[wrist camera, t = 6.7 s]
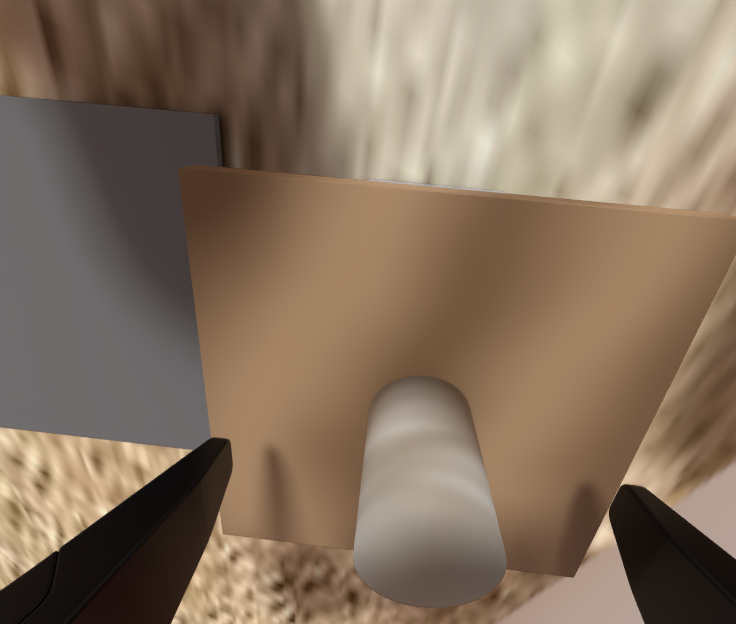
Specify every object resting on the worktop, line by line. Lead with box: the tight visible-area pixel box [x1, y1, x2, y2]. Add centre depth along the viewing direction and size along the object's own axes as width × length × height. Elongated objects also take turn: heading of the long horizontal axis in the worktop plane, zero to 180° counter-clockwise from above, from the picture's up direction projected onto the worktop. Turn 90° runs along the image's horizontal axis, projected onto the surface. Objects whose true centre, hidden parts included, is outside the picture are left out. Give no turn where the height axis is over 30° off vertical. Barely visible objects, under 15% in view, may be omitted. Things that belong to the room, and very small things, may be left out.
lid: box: [178, 165, 736, 608], centre depth 9 cm, size 12×12×5 cm
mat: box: [0, 95, 223, 450], centre depth 16 cm, size 14×14×1 cm
